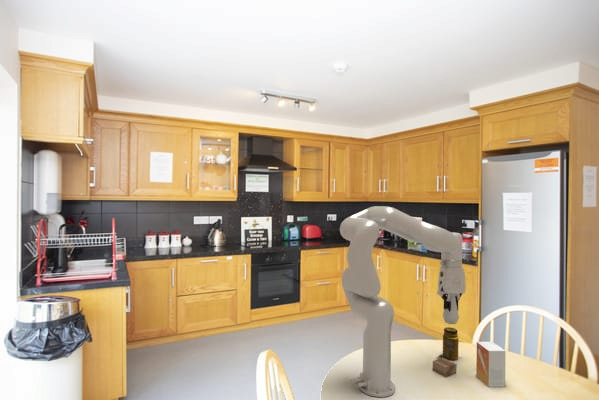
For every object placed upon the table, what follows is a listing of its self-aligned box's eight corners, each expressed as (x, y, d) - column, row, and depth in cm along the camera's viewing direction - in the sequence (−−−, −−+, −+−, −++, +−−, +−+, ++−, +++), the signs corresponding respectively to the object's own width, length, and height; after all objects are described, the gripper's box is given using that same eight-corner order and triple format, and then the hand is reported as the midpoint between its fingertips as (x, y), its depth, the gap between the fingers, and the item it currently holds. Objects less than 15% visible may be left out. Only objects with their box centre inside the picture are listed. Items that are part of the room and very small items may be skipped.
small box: (475, 375, 130) (476, 341, 130) (492, 375, 130) (492, 341, 131) (488, 387, 122) (488, 350, 122) (505, 387, 122) (506, 350, 122)
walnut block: (445, 378, 129) (445, 367, 129) (432, 371, 134) (432, 360, 134) (456, 374, 132) (456, 363, 132) (443, 367, 137) (443, 357, 137)
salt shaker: (460, 325, 133) (460, 291, 133) (444, 324, 134) (444, 290, 134) (456, 320, 139) (456, 288, 139) (441, 319, 140) (441, 287, 140)
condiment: (462, 357, 145) (462, 329, 145) (453, 364, 139) (454, 334, 140) (444, 352, 151) (444, 324, 151) (436, 358, 145) (436, 329, 145)
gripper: (442, 266, 130) (441, 315, 130) (475, 264, 136) (474, 311, 136) (428, 263, 137) (427, 309, 137) (460, 261, 143) (459, 305, 143)
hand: (450, 309), depth 136 cm, fingers closed on salt shaker, 3 cm apart
